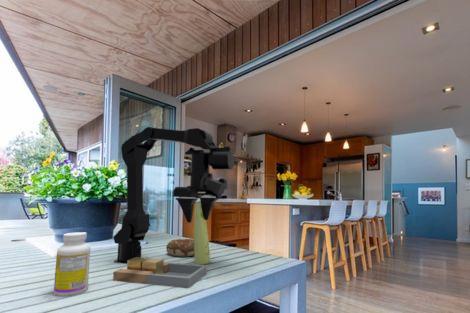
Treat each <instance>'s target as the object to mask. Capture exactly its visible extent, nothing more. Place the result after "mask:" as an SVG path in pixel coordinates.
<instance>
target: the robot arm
mask: <svg viewBox="0 0 470 313" xmlns="http://www.w3.org/2000/svg"><path fill="white" fill-rule="evenodd" d="M158 141H161V142H162V141H163V142H170V143H171V142H172V143H177V144H186V145H188V146H192V147H189V149H188V150H187V151H185V152H184V155H186V156H189V157H191V158H190V160H191V161H190V172H187V176H189V177H190V179H189V180H190V181H189V185H187V186H175V188H173V190H172V191H173V192H172V197H175V200H176V201H177V202H178V204H179V206H180V209H181V211H182V214H183V215H184V218H185V220H186V222H187V223H189V224H190V223H192V219H193V213H194V212H193V211H194V207H195V206H194V205H195V204H196V202H198V199H199V201H201V207H202V212H203V217H204V220H206V221H208V220H209V217H210V214H211V211H212V209H213V206H214V204H215V202H217V201H218V200H220V197H222V195H224V193H225V190H228V180H227V179H225V178H219V179H215V178H214V177H213V174H212V172H211V173H210V167H211V168H212V169H213V170H217V171H219V170H222V171H223V170H224V171H225V170H228V171H229V170H233V169H234V166H235V158H234V153H233V148H232V147H231V146H224V147H218V146H217V145H216V143H215V142H214V139H213V135H212V133H210V132H208V131H206V130H204V129H202V128H199V127H196V128H188V129H184V130H180V129H179V130H178V129H170V128H169V129H168V128H160V127H159V128H158V127H152V126H146V127H145V128H144V129H143V130H141V131H140V132H138V133H135V134H134V135H131V137H129V138H128V139H127V140H125V141H124V142H123V143H122V144H121V148H120V149H121V158H122V160H123V162H124V164H125V165H126V194H127V195H126V197H127V198H126V206H127V207H126V212H125V214H124V216H123V217H122V220H121V222H122V223H121V228H120V230H118V231H117V233H116V234H115V235H113V240H114V244H117V259H115V260H113V263H118V264H119V263H120V264H127V260H130V259H133V258H135V257H141V258H142V246H141V241H144V240H145V236H146V234H147V233H148V232H149V229H150V227H151V224H150V223H151V222H150V221H151V220H150V218H151V215H150V213H147V214H146V212H145V210H144V201H143V200H144V192H143V191H144V187H143V185H144V184H143V180H144V179H143V176H144V175H143V168H144V167H143V166H144V164H145V162H146V161H147V157H148V153H149V152H150V151H151V150H152V149H153V148H154V146H155V143H157V142H158ZM193 147H195V148H199V149H195V148H193ZM205 151H207V152H205ZM198 196H201V197H199V198H197V197H198Z"/></svg>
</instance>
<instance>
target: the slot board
mask: <svg viewBox="0 0 470 313" xmlns="http://www.w3.org/2000/svg"><path fill="white" fill-rule="evenodd" d="M169 263H170V262H165V261H164V265H163V275H164V274H165V273H167V272H168V270H169ZM149 273H150V274H153V272H151V271H139V270H128V269H127V268H125V269H124V268H119V269H117V270H115V271H113V276H112V281H114V282H122V283H123V282H124V283H132V284H144V285H148V284H147V274H149Z"/></svg>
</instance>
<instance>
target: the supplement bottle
mask: <svg viewBox="0 0 470 313" xmlns="http://www.w3.org/2000/svg"><path fill="white" fill-rule="evenodd" d="M87 236H88V234H87V232H84V231H83V232H82V231H79V232H75V231H74V232H67V233H64V234H63V235H62V240H63V244H62V245H61V246H59V247H58V248H57V250H56V260H55V261H56V262H55V272H54V282H53V294H54V295H55V296H57V297H70V296H76V295H80V294H82V293H84V292H86V291H87V290H88V287H89V277H90V276H89V275H90V274H89V273H90V263H91V262H90V260H91V259H90V258H91V246H90V245H89V244H88V243H86V240H87Z"/></svg>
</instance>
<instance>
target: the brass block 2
mask: <svg viewBox="0 0 470 313" xmlns="http://www.w3.org/2000/svg"><path fill="white" fill-rule="evenodd" d="M164 262H165V259H163V258H152V257H151V258H149V259H148V260H145V261H143V262H142V271H151V272H153V274H161V275H163V265H164Z"/></svg>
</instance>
